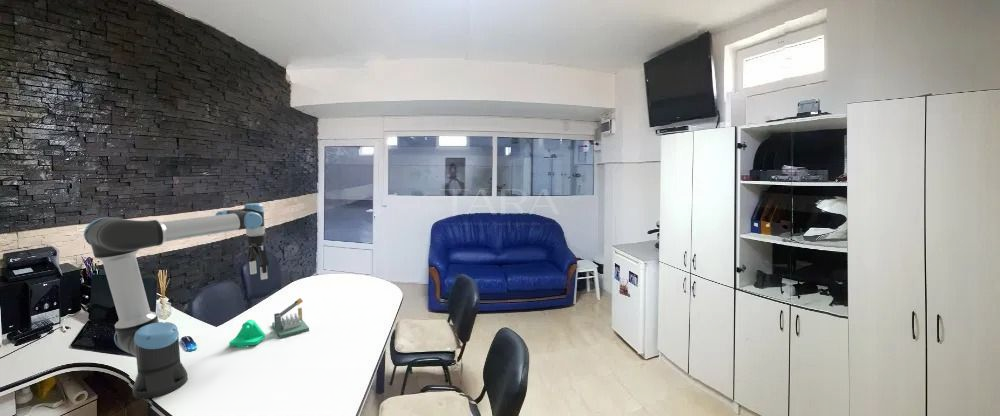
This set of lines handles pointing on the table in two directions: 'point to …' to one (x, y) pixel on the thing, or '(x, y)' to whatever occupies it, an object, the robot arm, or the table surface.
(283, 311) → the grey lever handle
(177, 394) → the table surface
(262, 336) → the camera mount
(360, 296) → the table surface
